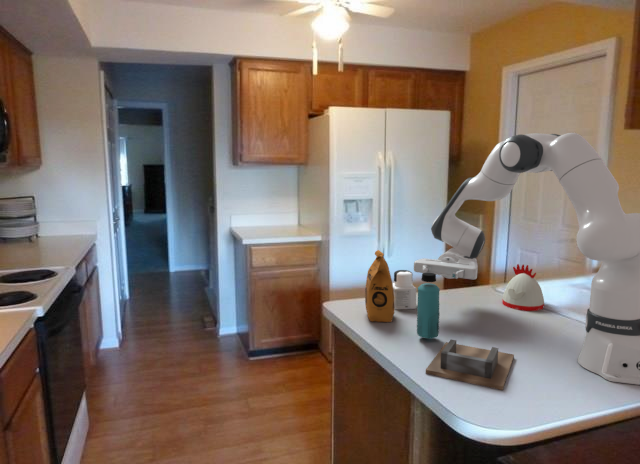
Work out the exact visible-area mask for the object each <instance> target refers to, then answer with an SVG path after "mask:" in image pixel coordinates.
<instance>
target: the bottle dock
mask: <svg viewBox="0 0 640 464" xmlns="http://www.w3.org/2000/svg"><path fill="white" fill-rule="evenodd" d="M514 356H515V354H512V353H507V352H503V351H499V347H494V346H492V347H491V349H486V348H481V347H476V346H470V345H469V346H468V345H463V344H460V343H457V339H450V340H449V341H448V342H447V341H445V343H444V344H443V346H442V347H441V348H440V350H439V351H438V352H437V354H436V355H435V356H434V358H433V359H432V360H431V361H430V363H429V364H428V366H427V367H426V368H425V374H427V375H432V376H436V377H441V378H446V379H449V380H454V381H458V382H463V383H467V384H473V385H477V386H482V387H485V388H491V389H495V390H500V391H503V390H504V388H505V385H506V383H507V379H508V376H509V374H510V370H511V367H512V364H513V361H514V358H515V357H514Z"/></svg>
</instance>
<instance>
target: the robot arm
mask: <svg viewBox="0 0 640 464" xmlns="http://www.w3.org/2000/svg"><path fill="white" fill-rule="evenodd" d="M549 171H550V172H553V173H554V175H555V177H556V178H557V181H558V182H559V184H560V185H561V187H562V189H563V190H564V192H565V194H566V196H567V197H568V199H569V201H570V203H571V205H572V207H573V209H574V212H575V214H576V218H577V223H578V231H577V234H576V244H577V245H576V246H577V248H578V250H579V252H580V253H581V254H582V255H583V256H585V257H586V258H587V259H590V260H592V261H597V262H601V265H600V267H599V269H598V270H597V272H596V273H595V274H594V276H593V277H592V279H591V284H590V285H591V286H590V294H589V295H590V296H589V308H587V310H586V314H585V323H584V324H585V325H584V326H585V331H586V332H585V337H584V341H583V345H582V347H581V350H580V353H579V356H578V357H577V362H578V364H579V365H580V366H581V367H583V368H584V369H586V370H588V371H589V372H592V373H594V374H597V375H599V376H600V377H602V378H604V379H605V380H606V381H609V382H614V383H623V384H630V385H638V386H639V385H640V212H639V213H638V212H631V213H625V211H624V210H623V207H622V205H621V202H620V198H619V191H620V185H619V183H618V181H617V180H616V178H615V177H614V175H613V174H612V172H611V171H610V169H609V168H608V166H607V165H606V162H604V160H603V158H602V157H601V156H600V154H599V153H598V151H597V150H596V149H595V148H594V147H593V145H591V144H590V142H588V140H587V139H586V138H585V137H583V136H582V135H581V134H579V133H577V132H568V133H564V134H557V133H539V132H538V133H537V132H536V133H535V132H534V133H532V132H531V133H525V134H516V135H513V136H510V137H508V138H506V139H505V140H502V141H500V142H499V143H497V144H496V145H495V146H494V147H493V149H492V150H491V152H490V154H488V156H487V157H486V159H485V161H484V164H482V167H481V169H480V172H479V173H478V174H477V175H475V176H474V177H468V178H467V179H465V180H464V181H463V182H462V183H461V185H460V186H459V187H458V189H457V190H456V192H454V194H453V195H452V197H451V199H450V200H449V201H448V203H447V204H446V206H445V207H444V209H443V210H442V211H441V213H440V214H439V215H438V216H437V217H436V218H435V219H434V220H433V223H432V225H431V228H430V229H431V234H432V236H433V238H434V239H436V240H438V241H440V242H442V243H445V244H447V245H448V246H451V248H450V249H448V250H447V251H445V252H443V253H442V254H440V255H439V256H438V257H437V259H436V258H434V259H432V258H425V257H424V258H423V257H422V258H419V259H417V260H415V261H414V263H413V271H414V272H415V273H418V274H419V273H420V274H421V275H422V274H423V273H434V274H436V275H437V276H441V277H443V278H446V279H456V280H458V279H467V280H476V279H477V278H478V268H479V266H478V265H479V264H478V259H477V258H478V256H480V253H481V252H482V250H483V248H484V246H485V243H486V237H485V233H484V231H483V229H480V228H478V227H476V226H474V225H472V224H471V223H468V222H466V221H465V220H463V219H460V218H459V217H457V216H456V213H457V212H458V211H459V209H460V208H461V206H462V205H463V204H464V203H465V201H468V200H473V201H475V200H476V201H484V202H485V201H486V202H496V201H499V200H503V199H504V198H506V197H507V196H508V195H509V194H510V193H511V192H512V190H513V188H514V187H515V185H516V183H517V180H518V179H519V177H520V174H524V173H534V174H536V173H537V174H538V173H545V172H546V173H547V172H549Z"/></svg>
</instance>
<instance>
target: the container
mask: <svg viewBox="0 0 640 464" xmlns="http://www.w3.org/2000/svg"><path fill="white" fill-rule="evenodd" d="M413 276H414V274H413V272H412V271H410V270H407V269H398V270H396V271H394V273H393V282H392V284H393V290H394V310H414V309H416V308H417V287H416V286H414V285H413Z"/></svg>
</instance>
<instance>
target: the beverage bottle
mask: <svg viewBox="0 0 640 464" xmlns="http://www.w3.org/2000/svg"><path fill="white" fill-rule="evenodd" d="M421 281H422V282H425V283H422V284H420V285H418V287H417V305H416V308H417V309H416V311H417V312H416V334H417V336H419V337H421V338H424V339H436V338H438V337H439V334H440V317H441V316H440V306H441V304H440V291H441V290H440V289H441V288H440V287H439V286H438V285H437V284H435V282H437V276H436V274H434V273H423V274H422V273H421Z"/></svg>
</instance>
